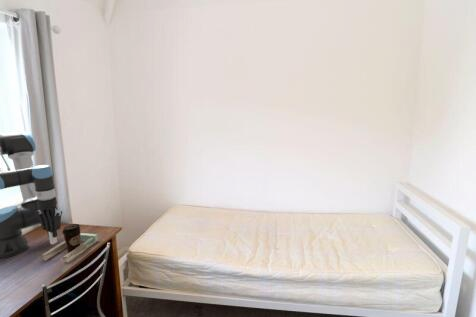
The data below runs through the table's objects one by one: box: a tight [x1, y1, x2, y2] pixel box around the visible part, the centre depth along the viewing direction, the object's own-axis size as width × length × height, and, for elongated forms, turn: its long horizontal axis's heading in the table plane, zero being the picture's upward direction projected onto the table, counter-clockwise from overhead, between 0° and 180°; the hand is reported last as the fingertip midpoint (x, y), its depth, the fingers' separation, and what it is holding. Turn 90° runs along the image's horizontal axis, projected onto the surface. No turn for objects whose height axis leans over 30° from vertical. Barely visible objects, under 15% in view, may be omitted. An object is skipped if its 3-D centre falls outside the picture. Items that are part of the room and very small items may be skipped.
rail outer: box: [63, 237, 96, 263], centre depth 143 cm, size 2×20×3 cm, turn 170°
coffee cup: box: [61, 223, 82, 253], centre depth 145 cm, size 9×8×13 cm
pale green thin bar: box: [41, 240, 67, 262], centre depth 145 cm, size 2×20×3 cm, turn 170°
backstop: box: [80, 232, 99, 243], centre depth 155 cm, size 14×2×4 cm, turn 80°
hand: (53, 242), depth 134 cm, fingers closed
